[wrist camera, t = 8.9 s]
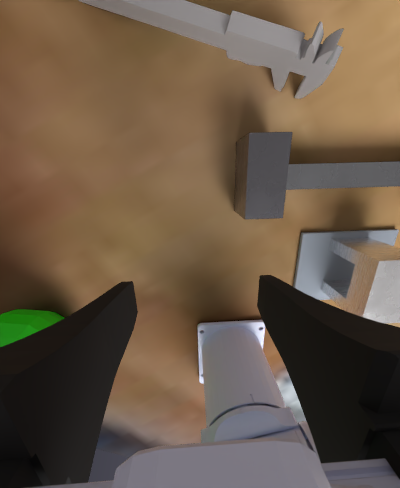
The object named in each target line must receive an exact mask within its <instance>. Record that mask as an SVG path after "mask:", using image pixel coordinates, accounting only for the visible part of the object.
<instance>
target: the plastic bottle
mask: <svg viewBox="0 0 400 488" xmlns="http://www.w3.org/2000/svg"><path fill="white" fill-rule="evenodd" d="M62 319H64V317H62V316H61V315H59V314H57V313H56V312H50V311H41V310H28V309H15V310H12V311H9V312H6V313H3V314H1V315H0V347H2V346H5V345H7V344H10V343H13V342H15V341H17V340H20V339H22V338H25V337H27V336H29V335H31V334H34V333H36V332H38V331H40V330H42V329H44V328H47V327H49V326H51V325H53V324H55V323H57V322H59V321H60V320H62Z"/></svg>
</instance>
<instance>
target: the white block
mask: <svg viewBox="0 0 400 488" xmlns="http://www.w3.org/2000/svg"><path fill="white" fill-rule="evenodd" d="M329 250H330V251H332V252H333V253H335V254H337V255H339V256H341V257H343V258H344V259H346V260H348V261H350V262H352V263H354V264H355V267H354V271H353V275H352V279H343V280H323V282H322V287H321V290H322V291H323V292H324V293H325V294H326V295H327V296H328V297H329V298H331V299H332V300H333V301H334V302H335V303H336V304H337V305H339V306H340V307H341V308H342V309H343V310H344V311H347V312H349V313H352V314H355V315H358V316H361V317H364V318H367V319H371V320H374V321H377V322H381V323H400V248H397V247H394V246H391V245H389V244H386V243H383V242H380V241H377V240H374V239H371V238H346V239H331V242H330V247H329Z"/></svg>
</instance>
